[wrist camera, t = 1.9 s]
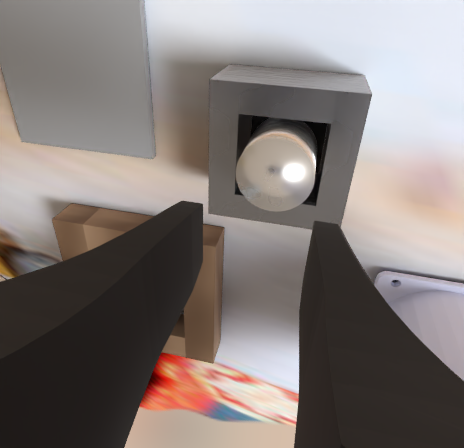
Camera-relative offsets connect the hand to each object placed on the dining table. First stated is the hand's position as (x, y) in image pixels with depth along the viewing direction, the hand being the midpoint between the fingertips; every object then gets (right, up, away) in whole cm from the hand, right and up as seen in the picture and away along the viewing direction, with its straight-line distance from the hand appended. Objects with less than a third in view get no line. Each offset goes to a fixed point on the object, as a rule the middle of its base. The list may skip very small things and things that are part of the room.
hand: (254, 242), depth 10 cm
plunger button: (+2, +4, +6) cm, 7 cm away
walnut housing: (-6, -3, +15) cm, 17 cm away
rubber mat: (-9, +8, +8) cm, 15 cm away
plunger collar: (+2, +5, +8) cm, 9 cm away
